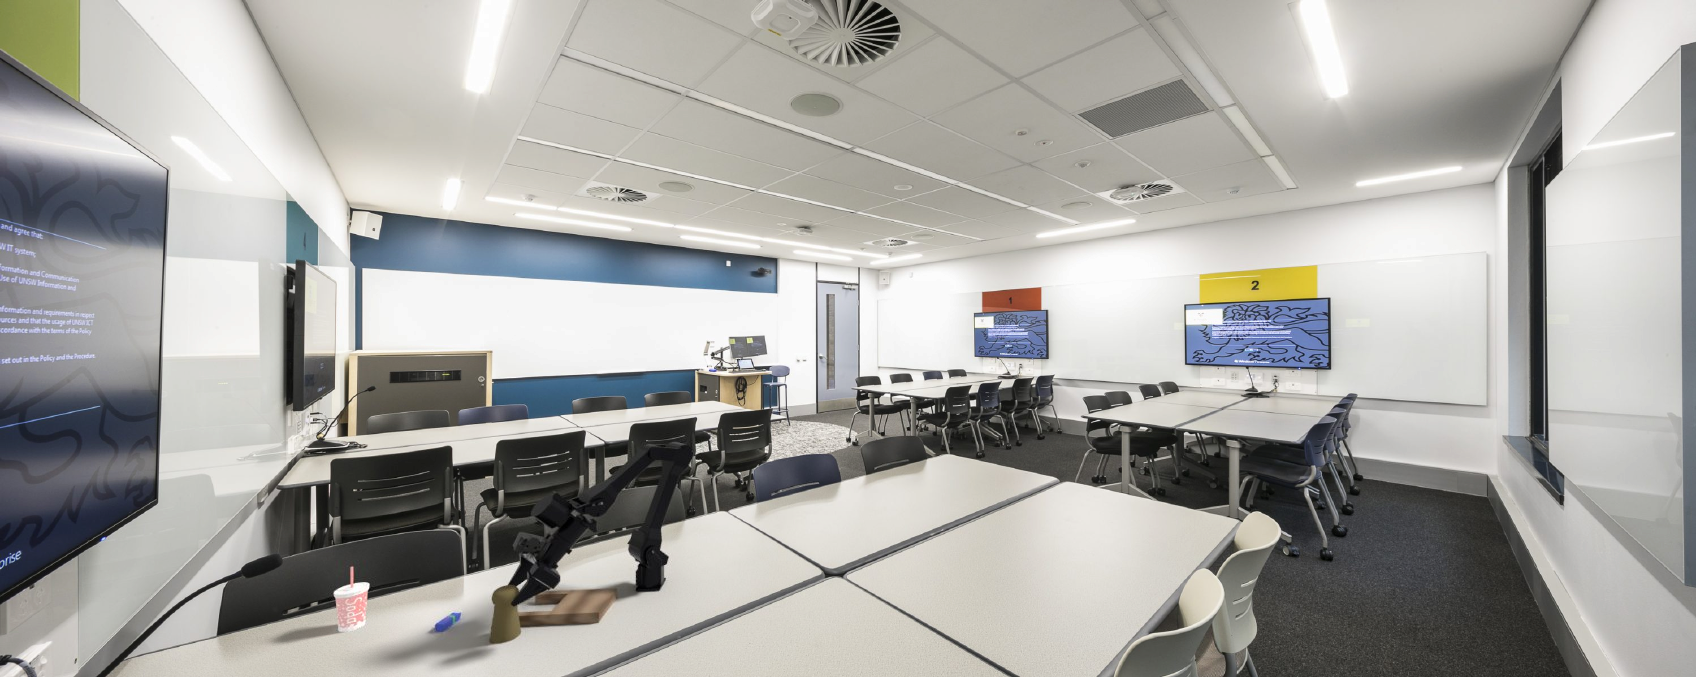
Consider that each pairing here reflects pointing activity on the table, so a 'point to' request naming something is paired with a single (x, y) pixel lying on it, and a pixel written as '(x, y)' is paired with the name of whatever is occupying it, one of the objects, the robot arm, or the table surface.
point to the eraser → (448, 621)
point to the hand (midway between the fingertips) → (509, 597)
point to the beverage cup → (351, 605)
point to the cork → (504, 615)
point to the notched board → (570, 607)
